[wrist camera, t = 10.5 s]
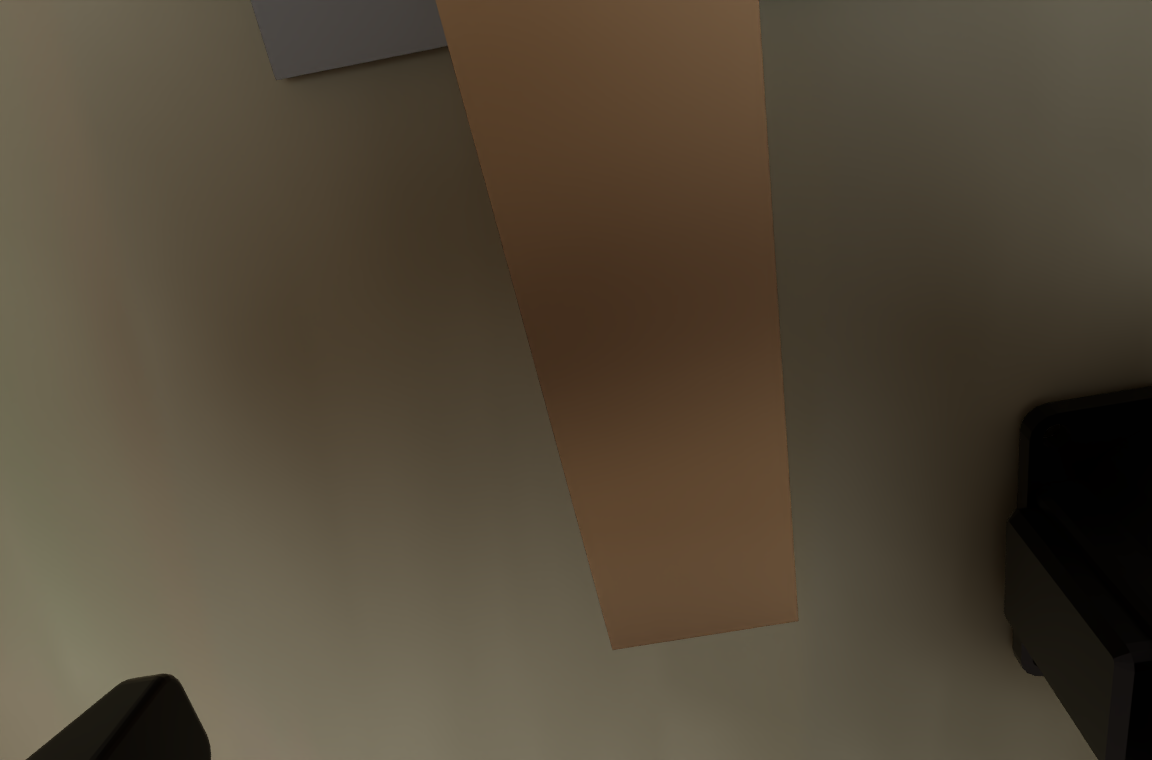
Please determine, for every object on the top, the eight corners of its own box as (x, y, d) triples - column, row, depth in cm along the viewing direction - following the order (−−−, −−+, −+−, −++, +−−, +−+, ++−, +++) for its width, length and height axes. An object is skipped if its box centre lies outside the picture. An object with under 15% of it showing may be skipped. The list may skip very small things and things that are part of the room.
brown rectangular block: (327, -444, 10) (144, -573, 5) (689, -539, 10) (851, -768, 5) (548, 387, 17) (558, 658, 12) (760, 349, 17) (855, 612, 12)
